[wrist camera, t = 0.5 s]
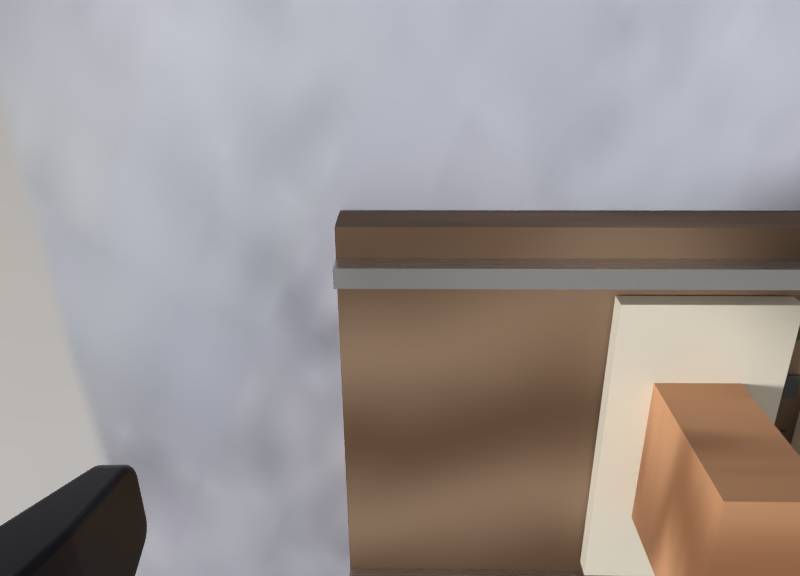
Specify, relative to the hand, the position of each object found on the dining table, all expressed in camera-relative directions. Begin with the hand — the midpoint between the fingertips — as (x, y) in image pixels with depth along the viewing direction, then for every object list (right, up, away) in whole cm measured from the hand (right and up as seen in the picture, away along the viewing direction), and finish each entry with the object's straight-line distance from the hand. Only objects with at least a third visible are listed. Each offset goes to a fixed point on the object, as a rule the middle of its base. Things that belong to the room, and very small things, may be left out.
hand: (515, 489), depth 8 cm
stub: (+7, -2, +14) cm, 16 cm away
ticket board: (+8, -2, +15) cm, 17 cm away
